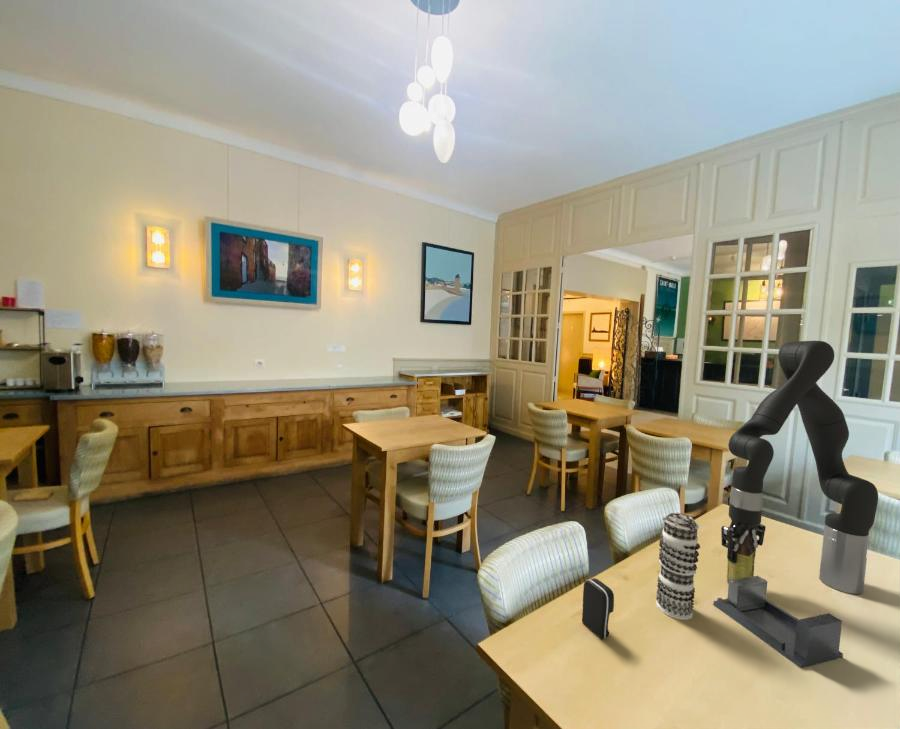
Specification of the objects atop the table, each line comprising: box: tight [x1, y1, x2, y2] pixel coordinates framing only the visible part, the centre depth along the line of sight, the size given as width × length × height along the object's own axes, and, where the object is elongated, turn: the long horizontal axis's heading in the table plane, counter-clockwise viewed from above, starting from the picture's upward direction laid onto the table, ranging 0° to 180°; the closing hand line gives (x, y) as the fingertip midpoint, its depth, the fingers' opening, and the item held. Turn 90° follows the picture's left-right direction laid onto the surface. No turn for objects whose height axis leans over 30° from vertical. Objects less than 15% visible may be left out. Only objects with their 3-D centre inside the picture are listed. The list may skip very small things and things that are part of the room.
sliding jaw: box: [726, 575, 768, 611], centre depth 103 cm, size 10×2×7 cm, turn 105°
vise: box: [712, 597, 844, 669], centre depth 97 cm, size 13×21×9 cm, turn 15°
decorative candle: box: [655, 512, 701, 621], centre depth 103 cm, size 9×9×25 cm
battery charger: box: [581, 578, 615, 640], centre depth 95 cm, size 7×4×11 cm, turn 26°
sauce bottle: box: [726, 524, 756, 585], centre depth 114 cm, size 7×6×20 cm
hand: (740, 560), depth 114 cm, fingers closed on sauce bottle, 6 cm apart
